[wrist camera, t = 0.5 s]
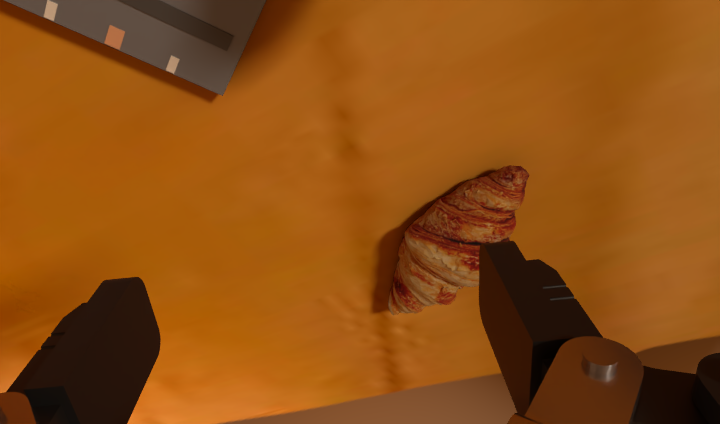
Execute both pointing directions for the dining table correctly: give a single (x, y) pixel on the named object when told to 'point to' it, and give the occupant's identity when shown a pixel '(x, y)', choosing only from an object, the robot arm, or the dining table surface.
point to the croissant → (455, 240)
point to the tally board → (164, 31)
